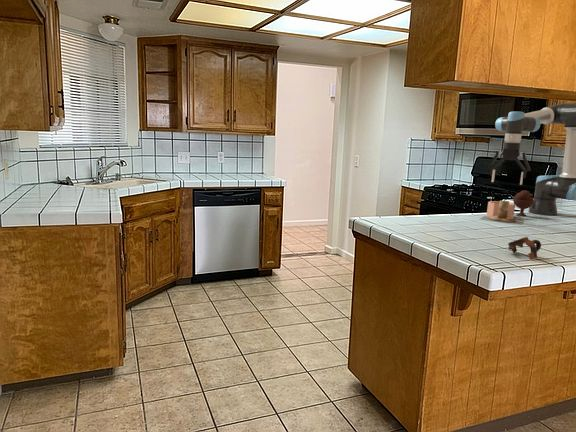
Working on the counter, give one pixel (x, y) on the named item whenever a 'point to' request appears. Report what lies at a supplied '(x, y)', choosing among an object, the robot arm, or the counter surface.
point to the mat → (503, 222)
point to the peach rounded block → (503, 213)
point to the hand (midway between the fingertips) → (506, 183)
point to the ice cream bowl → (523, 201)
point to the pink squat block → (494, 208)
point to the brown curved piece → (529, 243)
